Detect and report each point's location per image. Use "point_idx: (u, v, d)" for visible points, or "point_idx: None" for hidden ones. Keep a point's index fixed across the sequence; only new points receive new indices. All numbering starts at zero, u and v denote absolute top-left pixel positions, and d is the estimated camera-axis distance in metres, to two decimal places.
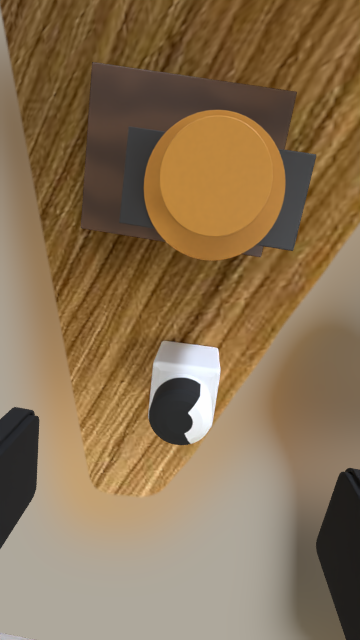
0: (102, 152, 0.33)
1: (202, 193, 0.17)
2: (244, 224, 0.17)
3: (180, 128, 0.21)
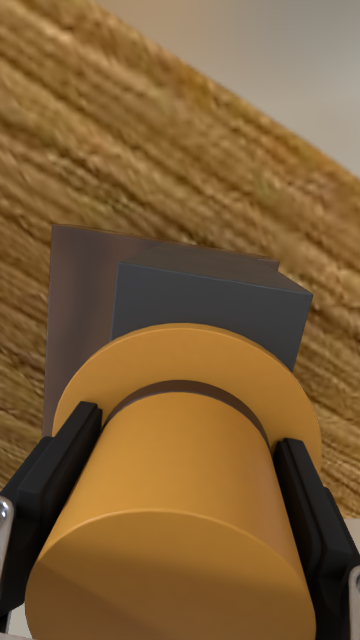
0: None
1: None
2: (289, 577, 0.06)
3: None
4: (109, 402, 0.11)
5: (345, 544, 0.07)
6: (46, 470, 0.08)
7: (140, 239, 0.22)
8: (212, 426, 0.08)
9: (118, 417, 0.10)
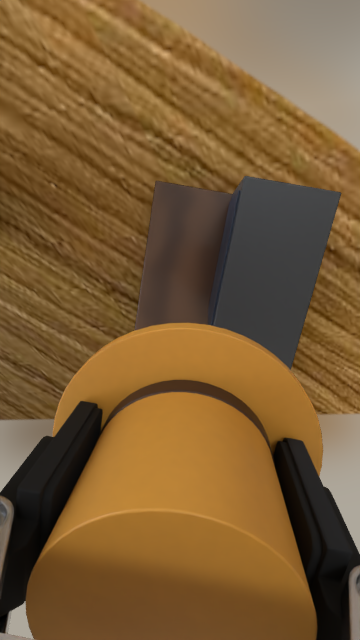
0: None
1: None
2: (290, 577, 0.06)
3: None
4: (110, 402, 0.11)
5: (345, 544, 0.07)
6: (46, 470, 0.08)
7: (215, 191, 0.32)
8: (213, 426, 0.08)
9: (119, 417, 0.10)
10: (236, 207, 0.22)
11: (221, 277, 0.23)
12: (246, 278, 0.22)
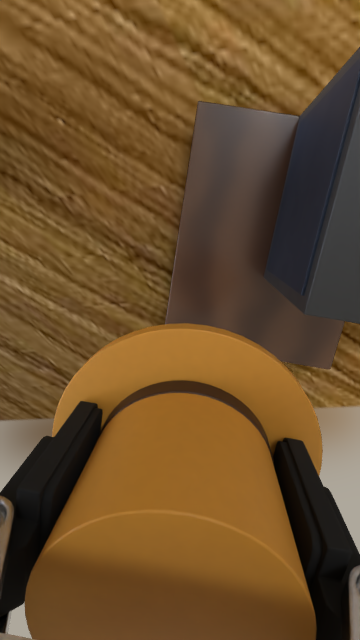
0: (249, 338, 0.29)
1: None
2: (289, 578, 0.06)
3: None
4: (110, 403, 0.11)
5: (345, 545, 0.07)
6: (46, 470, 0.08)
7: (277, 113, 0.25)
8: (212, 427, 0.08)
9: (118, 418, 0.10)
10: (359, 80, 0.14)
11: (328, 197, 0.16)
12: None
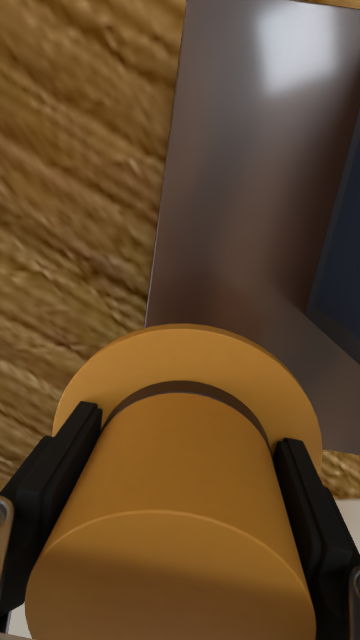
0: None
1: None
2: (289, 578, 0.06)
3: None
4: (109, 403, 0.11)
5: (345, 545, 0.07)
6: (46, 470, 0.08)
7: (342, 8, 0.13)
8: (212, 427, 0.08)
9: (118, 418, 0.10)
10: None
11: None
12: None
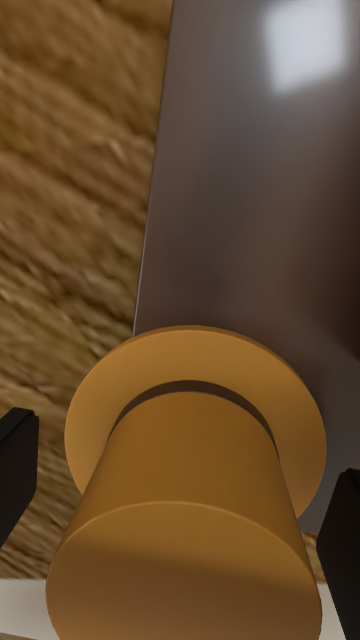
0: (316, 497, 0.12)
1: None
2: (297, 566, 0.06)
3: None
4: (120, 402, 0.11)
5: None
6: None
7: None
8: (221, 424, 0.09)
9: (130, 416, 0.10)
10: None
11: None
12: None
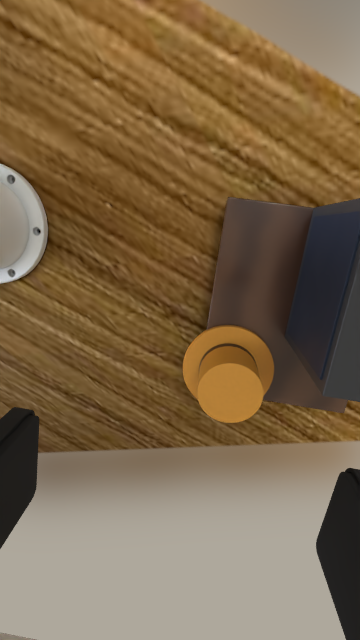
0: (272, 386, 0.34)
1: (237, 400, 0.29)
2: (256, 377, 0.28)
3: (192, 388, 0.34)
4: (203, 351, 0.33)
5: None
6: None
7: (294, 206, 0.30)
8: (238, 353, 0.31)
9: (209, 353, 0.32)
10: None
11: (339, 309, 0.20)
12: None
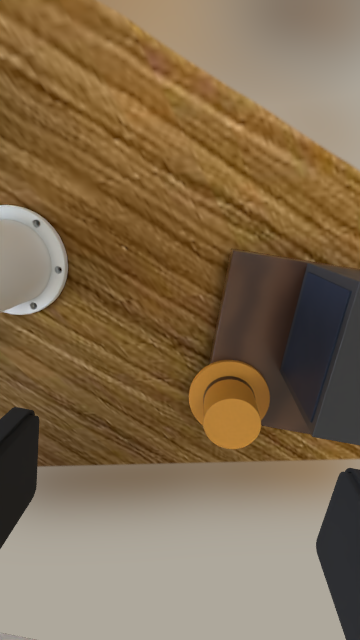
0: (268, 413, 0.39)
1: (238, 430, 0.33)
2: (255, 411, 0.32)
3: (197, 414, 0.39)
4: (207, 382, 0.37)
5: None
6: None
7: (291, 260, 0.34)
8: (239, 387, 0.35)
9: (213, 386, 0.36)
10: (346, 306, 0.23)
11: (327, 367, 0.25)
12: (355, 370, 0.24)
